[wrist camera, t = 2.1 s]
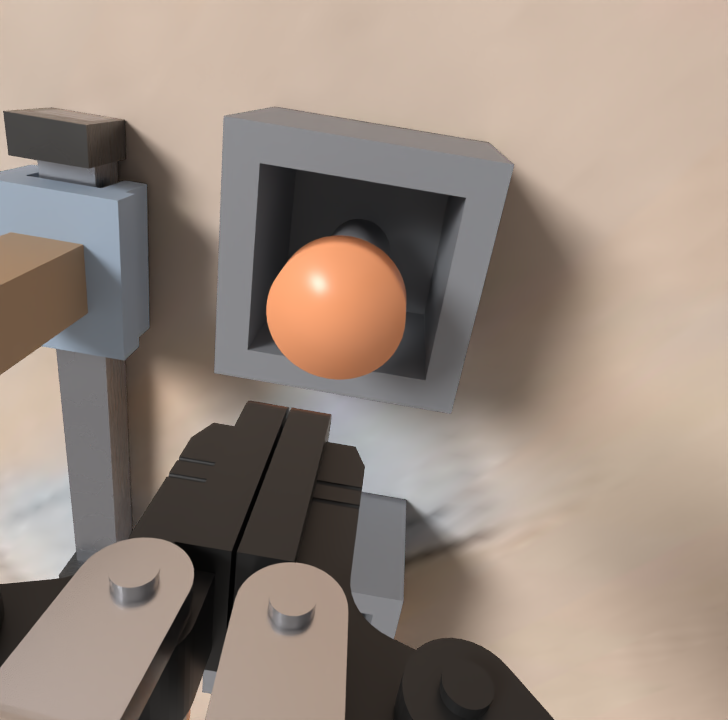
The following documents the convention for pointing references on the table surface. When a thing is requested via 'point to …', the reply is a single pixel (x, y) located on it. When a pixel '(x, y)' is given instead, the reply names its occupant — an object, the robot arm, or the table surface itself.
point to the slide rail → (78, 370)
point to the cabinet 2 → (373, 565)
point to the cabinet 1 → (347, 202)
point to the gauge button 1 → (339, 303)
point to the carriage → (71, 266)
